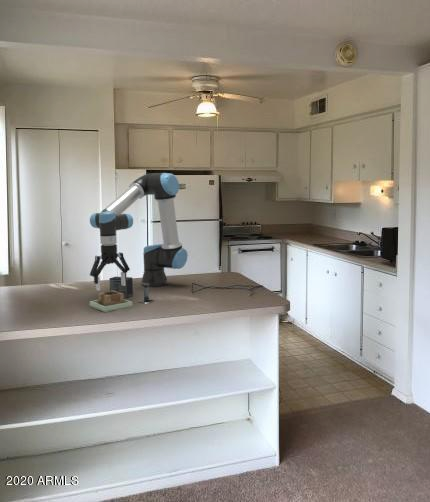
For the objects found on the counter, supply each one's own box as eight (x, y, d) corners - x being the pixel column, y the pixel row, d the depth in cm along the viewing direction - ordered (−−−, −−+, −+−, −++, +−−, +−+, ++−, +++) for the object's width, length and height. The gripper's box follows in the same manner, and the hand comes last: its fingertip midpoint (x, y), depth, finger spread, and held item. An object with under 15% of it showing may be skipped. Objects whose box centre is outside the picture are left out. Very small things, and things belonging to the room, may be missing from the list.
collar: (98, 305, 249) (97, 293, 248) (114, 302, 255) (114, 290, 254) (107, 308, 242) (106, 296, 242) (123, 305, 248) (123, 293, 247)
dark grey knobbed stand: (135, 302, 256) (134, 283, 255) (148, 300, 261) (148, 281, 260) (144, 305, 250) (143, 285, 249) (157, 302, 255) (157, 283, 254)
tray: (89, 306, 250) (89, 301, 249) (117, 301, 259) (116, 296, 259) (104, 312, 238) (104, 307, 238) (132, 306, 248) (132, 301, 248)
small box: (133, 296, 270) (133, 277, 268) (127, 299, 264) (127, 279, 262) (116, 295, 273) (115, 275, 272) (109, 298, 267) (108, 278, 265)
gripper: (88, 248, 234) (91, 293, 237) (135, 242, 249) (137, 284, 253) (80, 246, 239) (83, 290, 243) (127, 240, 255) (129, 282, 259)
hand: (111, 287), depth 248 cm, fingers open, 13 cm apart
